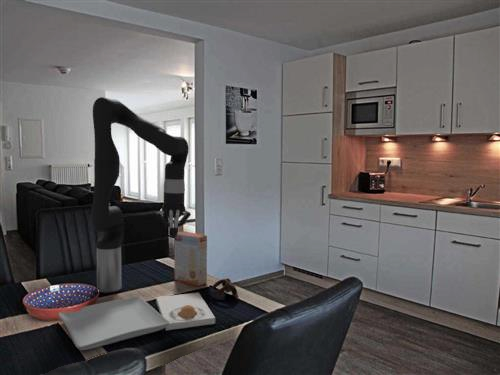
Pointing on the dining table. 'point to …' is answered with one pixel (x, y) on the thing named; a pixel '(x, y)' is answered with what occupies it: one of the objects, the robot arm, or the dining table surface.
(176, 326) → the white flat slab
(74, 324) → the square plate
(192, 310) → the ball
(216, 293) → the brown openwork arch
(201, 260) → the cracker box
